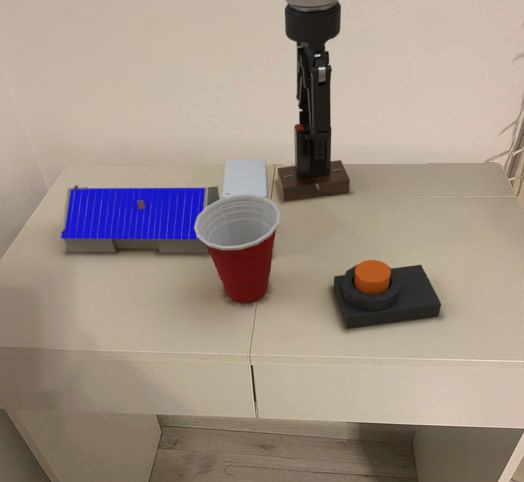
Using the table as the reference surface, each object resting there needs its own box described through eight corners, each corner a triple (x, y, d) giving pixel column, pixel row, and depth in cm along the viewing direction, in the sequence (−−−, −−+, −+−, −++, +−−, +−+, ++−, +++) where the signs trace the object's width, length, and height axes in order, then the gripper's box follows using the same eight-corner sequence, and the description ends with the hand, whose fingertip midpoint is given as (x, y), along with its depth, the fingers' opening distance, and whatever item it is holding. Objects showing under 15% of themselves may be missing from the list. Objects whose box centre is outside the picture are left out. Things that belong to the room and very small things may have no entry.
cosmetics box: (271, 257, 81) (267, 195, 73) (228, 260, 82) (219, 197, 74) (270, 217, 88) (266, 155, 81) (230, 219, 89) (222, 158, 81)
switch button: (383, 270, 72) (385, 257, 71) (393, 292, 69) (395, 279, 68) (350, 274, 72) (351, 262, 70) (358, 296, 69) (359, 284, 67)
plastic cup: (194, 282, 79) (179, 209, 70) (262, 256, 82) (255, 184, 73) (226, 328, 72) (214, 254, 63) (298, 299, 75) (296, 224, 66)
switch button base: (419, 276, 76) (423, 253, 73) (438, 316, 71) (444, 293, 68) (333, 288, 76) (334, 265, 73) (346, 329, 70) (348, 306, 67)
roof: (67, 255, 85) (50, 214, 80) (94, 204, 94) (81, 164, 89) (207, 256, 82) (199, 214, 77) (221, 204, 92) (215, 163, 86)
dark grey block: (327, 168, 92) (328, 119, 86) (330, 174, 91) (331, 126, 85) (295, 172, 92) (294, 124, 86) (297, 178, 91) (296, 130, 85)
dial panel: (338, 168, 97) (338, 154, 95) (351, 198, 90) (352, 183, 88) (276, 176, 97) (275, 162, 95) (284, 206, 90) (284, 192, 88)
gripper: (274, -16, 80) (280, 135, 97) (297, 31, 66) (300, 198, 83) (325, -22, 80) (322, 130, 97) (359, 24, 66) (349, 192, 83)
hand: (312, 161), depth 90 cm, fingers open, 8 cm apart
